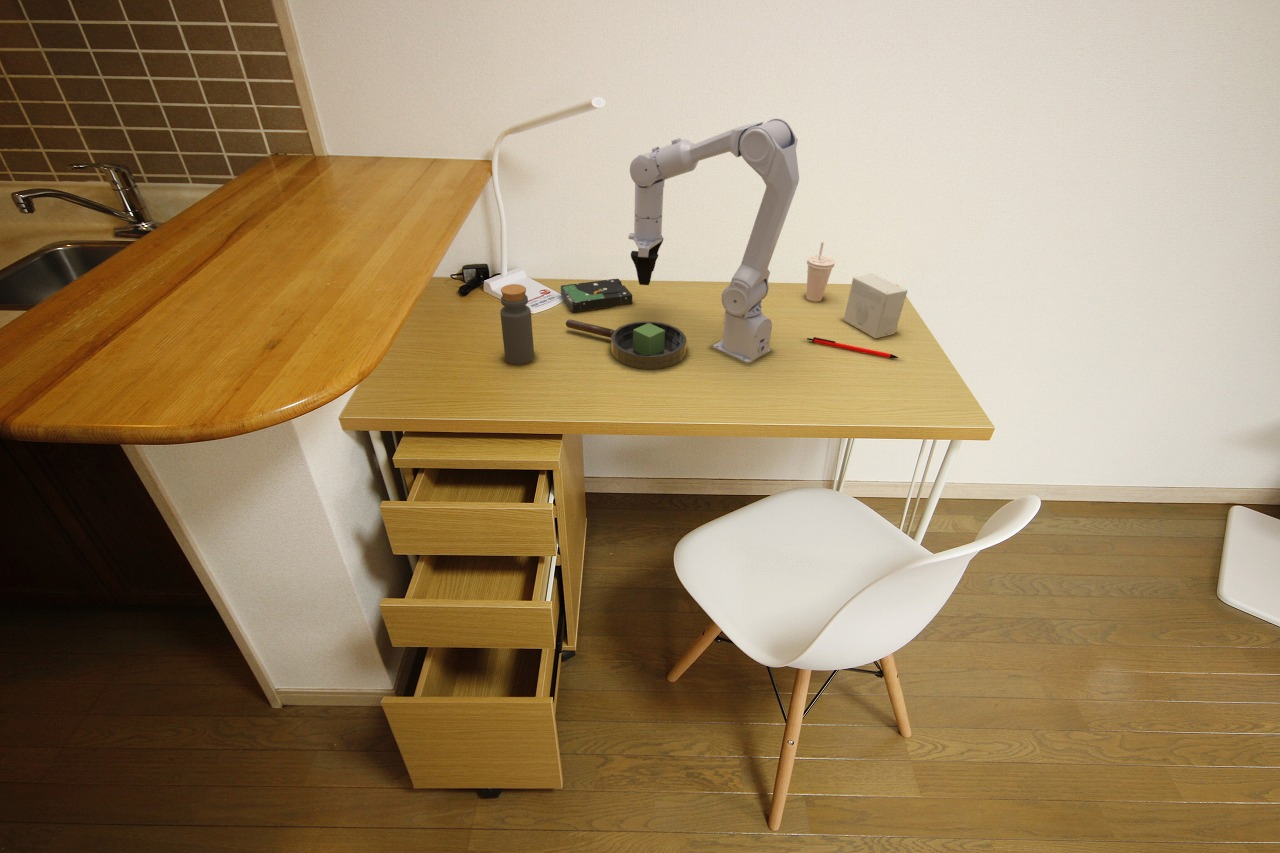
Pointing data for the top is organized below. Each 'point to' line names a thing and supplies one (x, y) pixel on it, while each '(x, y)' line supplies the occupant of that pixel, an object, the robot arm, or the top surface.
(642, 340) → the block
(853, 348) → the pen
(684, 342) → the skillet
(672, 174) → the robot arm
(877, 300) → the cosmetics box
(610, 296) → the disk drive
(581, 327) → the skillet handle
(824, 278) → the smoothie
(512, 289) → the bottle
